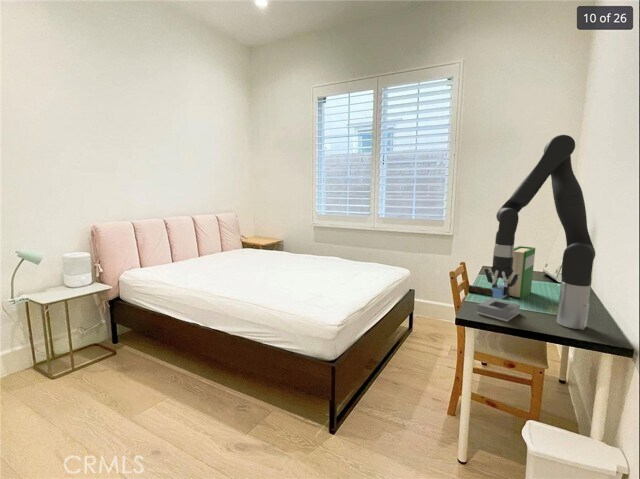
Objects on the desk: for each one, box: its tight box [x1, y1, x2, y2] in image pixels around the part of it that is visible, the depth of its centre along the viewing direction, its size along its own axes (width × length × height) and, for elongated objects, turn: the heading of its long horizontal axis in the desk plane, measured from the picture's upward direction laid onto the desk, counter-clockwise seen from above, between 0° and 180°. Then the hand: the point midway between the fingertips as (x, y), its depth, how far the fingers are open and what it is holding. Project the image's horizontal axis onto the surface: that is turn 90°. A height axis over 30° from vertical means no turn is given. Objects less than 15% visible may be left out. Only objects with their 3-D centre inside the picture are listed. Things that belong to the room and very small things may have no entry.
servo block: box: [490, 284, 507, 300], centre depth 143 cm, size 4×10×5 cm, turn 131°
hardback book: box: [509, 245, 536, 300], centre depth 170 cm, size 18×7×24 cm, turn 135°
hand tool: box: [467, 284, 510, 299], centre depth 170 cm, size 19×4×5 cm, turn 51°
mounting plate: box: [476, 297, 521, 322], centre depth 144 cm, size 12×14×4 cm
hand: (499, 293), depth 143 cm, fingers closed on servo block, 3 cm apart
